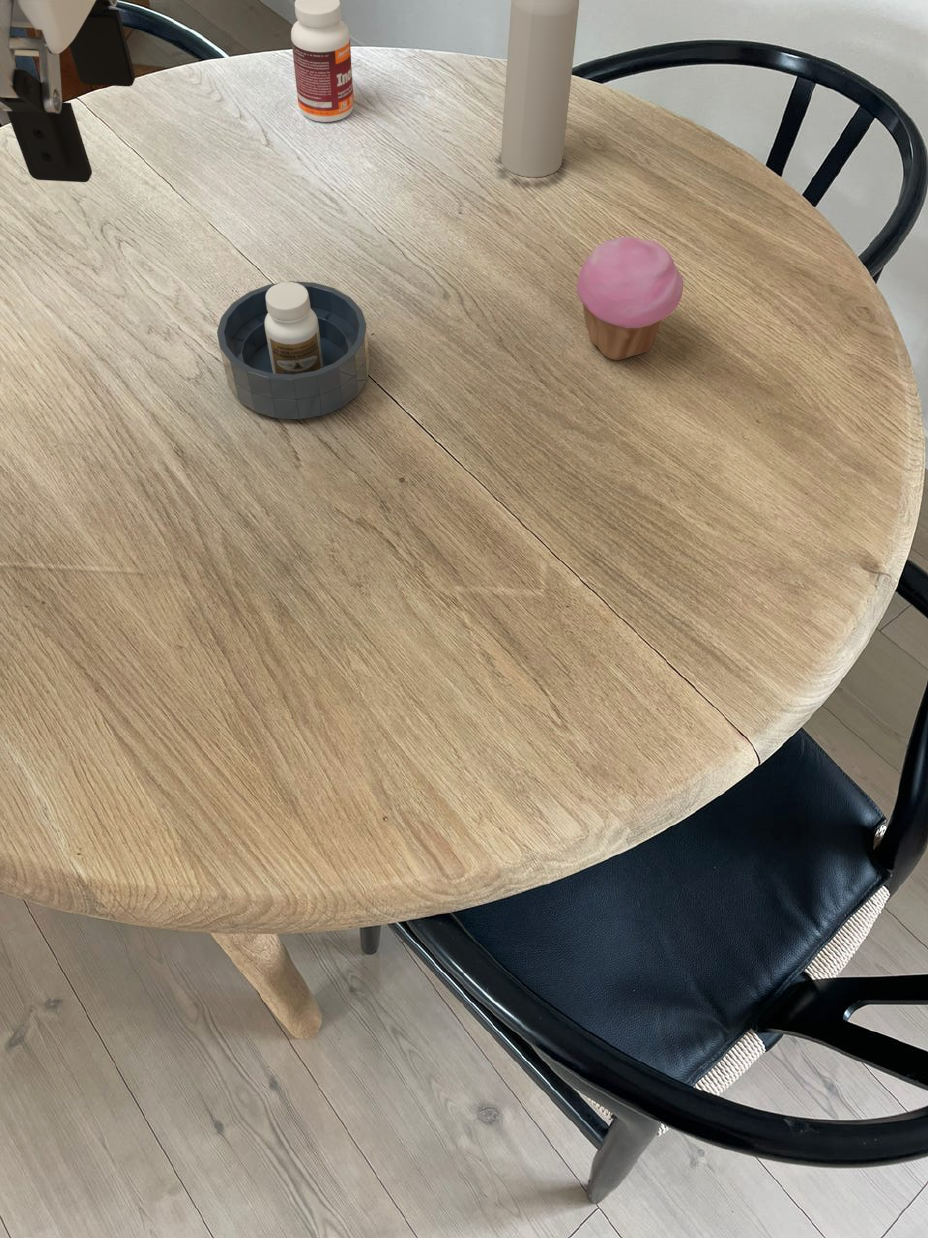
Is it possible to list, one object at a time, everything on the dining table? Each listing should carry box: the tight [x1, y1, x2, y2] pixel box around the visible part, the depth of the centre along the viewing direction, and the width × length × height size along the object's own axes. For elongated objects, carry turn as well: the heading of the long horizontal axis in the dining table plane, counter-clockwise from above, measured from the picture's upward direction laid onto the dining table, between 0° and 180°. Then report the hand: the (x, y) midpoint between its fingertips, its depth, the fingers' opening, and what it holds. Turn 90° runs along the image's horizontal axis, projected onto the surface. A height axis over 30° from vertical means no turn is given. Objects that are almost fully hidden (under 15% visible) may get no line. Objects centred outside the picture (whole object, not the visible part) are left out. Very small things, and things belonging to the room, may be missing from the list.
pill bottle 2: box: [265, 281, 323, 374], centre depth 81 cm, size 4×4×8 cm
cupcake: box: [576, 236, 684, 361], centre depth 84 cm, size 9×9×10 cm
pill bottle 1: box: [290, 0, 355, 123], centre depth 104 cm, size 6×6×11 cm
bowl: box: [216, 280, 370, 420], centre depth 83 cm, size 12×12×5 cm
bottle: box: [500, 0, 580, 178], centre depth 93 cm, size 7×7×28 cm
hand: (86, 128), depth 55 cm, fingers open, 9 cm apart
